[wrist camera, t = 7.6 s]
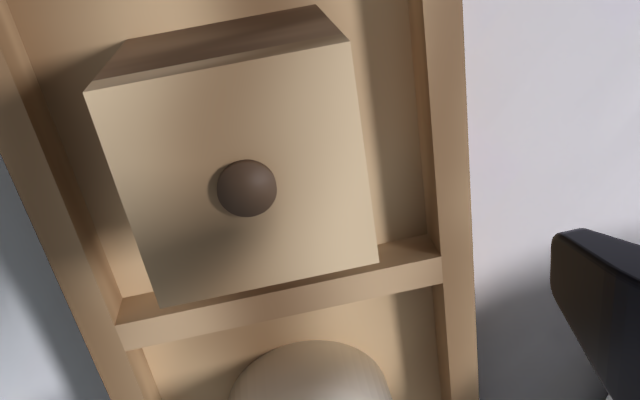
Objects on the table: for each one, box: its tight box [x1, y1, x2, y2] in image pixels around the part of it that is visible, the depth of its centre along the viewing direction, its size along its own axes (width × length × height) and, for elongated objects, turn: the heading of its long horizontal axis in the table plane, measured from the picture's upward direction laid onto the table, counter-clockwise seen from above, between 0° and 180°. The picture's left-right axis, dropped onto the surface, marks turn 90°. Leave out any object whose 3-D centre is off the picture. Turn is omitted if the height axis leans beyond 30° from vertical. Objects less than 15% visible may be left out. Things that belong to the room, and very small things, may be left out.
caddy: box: [0, 0, 479, 400], centre depth 19 cm, size 12×24×2 cm, turn 9°
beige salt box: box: [82, 4, 379, 309], centre depth 14 cm, size 5×5×5 cm
